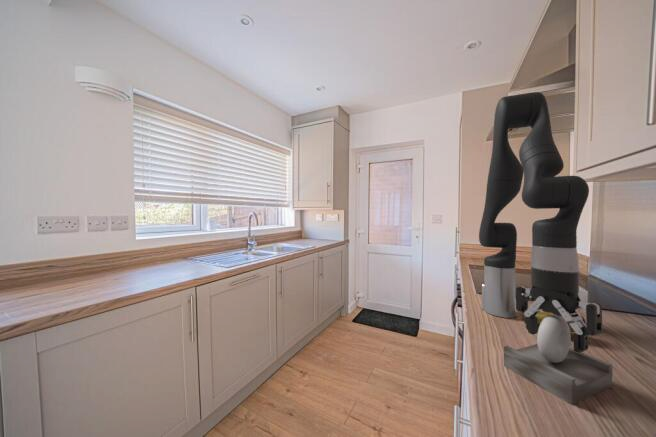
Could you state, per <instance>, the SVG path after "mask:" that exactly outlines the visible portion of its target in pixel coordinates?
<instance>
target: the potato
mask: <svg viewBox="0 0 656 437" xmlns="http://www.w3.org/2000/svg"><path fill="white" fill-rule="evenodd" d="M549 315H555V314H553V313H550V312H544V311H543V312H541V311H540V312H539V313H538V314H537V315H536V317H538V329H539V326H540V324H541V322H542V320H543V319H544V318H545V317H547V316H549ZM570 315H571V314H570ZM556 316H557V315H556ZM580 316H581V317H582V319H583V322H584V323H585V324H587V321H586V319H585V318H584V316H582V315H581V314H580ZM559 317H561V318H563V316H559ZM563 319H564V318H563ZM564 320H565V319H564ZM523 323H524V324H525V325H526V316H525V315H524V318H523ZM567 324H568V326H569V328H570V333H576V332H575V331H574V330H573V328H572V327H571V325H570V324H569V323H567Z"/></svg>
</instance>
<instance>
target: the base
mask: <svg viewBox="0 0 656 437" xmlns="http://www.w3.org/2000/svg"><path fill="white" fill-rule="evenodd" d="M503 366H504V367H505V368H507V369H509V370H510V371H511V372H513V373H515V374H517V375H519V376H521V377H522V378H524V379H526V380H527V381H530V382H531V383H533V384H535V385H536V386H539V387H540V388H542V389H544V390H546V391H547V392H549V393H551V394H553V396H556V397H558V398H559V399H560V400H561V399H562V400H563V401H565V402H567V403H569V404H570V405H574V404H577V403H578V402H580V401H583V400H585V399H587V398H590V397H592V396H595V395H597V394H599V393H602V392H603V391H605V390H607V389H610V388H612V387H613V364H612V363H609V362H607V361H604V360H602V359H600V358H596V357H594V356H592V355H589V354H587V353H584V352H581V353H579V352H576V351H574V348H571V347H570V348H569V352H568V354H567V356H566V358H565V359H564V360H563V361H562V362H559V363H552V362H550V361H548V360H546V359H545V358H544V357H543V356H542V355H541V353H540V352H539V349H538V344H537V343H536V344H532V345H529V346H524V347H522V348H517V349H515V348H513V347H511V346H509V345H504V346H503Z"/></svg>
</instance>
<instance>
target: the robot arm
mask: <svg viewBox="0 0 656 437" xmlns="http://www.w3.org/2000/svg"><path fill="white" fill-rule="evenodd" d="M495 106H496V107H495V112H494V119H493V138H492V147H491V148H492V149H491V158H490V164H489V168H488V169H489V170H488V174H487V183H486V194H485V201H484V208H483V213H482V216H481V217H482V218H481V222H480V226H479V230H478V231H479V232H478V241H479V244H480V245H481V246H482V247H484V248H497V249H498V248H499V249H500V248H501V250H500V251H499V252H498V253H495V254H492V255H489V256H486V257H484V259H483V265H484V266H483V271H484V272H483V275H484V276H483V277H484V278H483V279H484V283H482V284H481V309H482V310H483V311H484V312H485V313H487V314H489V315H492V316H494V317H495V316H496V317H498V318H499V317H500V318H505V319H507V318H509V319H512V318H516V315H517V314H516V312H519V313H522V314H524V316H526V324H525V328H526V330H527V331H528V334H531V335H535V334H538V317H536V315H537V314H538V313H539V312H540V313H541V312H543V313H544V312H550V313H553V314H555V315H557V316H563V318H564V319H565V321H566V322H567V323H569V324H570V325H571V327H572V328H573V330H574V331H575V332H573V349H574V351H576V352H579V353H581V352H582V353H584V352H585V351H587V350H588V349H589V336H592V337H594V336H599V335H602V334H603V309H602V308H603V306H602V305H601V303H598V302H592V303H591V302H587V301H585V300H584V301H583V300H582V299H580V296H579V293H580V287H579V286H580V285H579V284H580V282H579V281H580V278H579V276H580V275H579V272H580V271H579V269H580V268H579V266H580V264H579V254H578V248H577V247H578V246H577V240H578V238H577V229H578V225H579V222H580V219H581V216H582V213H583V210H584V208H585V206H586V203H587V201H588V197H589V194H590V187H589V185H588V182H587V181H586V180H585V179H584V178H583V177H581V176H578V175H561V176H560V175H559V174H560V173H561V172H562V171H563V170H564V166H565V165H564V164H565V163H564V160H563V159H562V156H561V154H560V151H559V150H558V147H557V145H556V143H555V141H554V137H553V132H552V126H551V125H552V124H551V118H550V112H549V106H548V102H547V99H546V96H545V95H544V94H543V93H542V92H539V91H537V92H533V91H532V92H525V93H518V94H514V95H512V94H511V95H507V96H503V97H501V98H500V99H499V100H498V102H497V104H496V105H495ZM528 127H530V128H531V130H530V132H529V133H528V135H527V136H526V137H525V138H524V140H523V142H522V143H521V145H520V147H519V150H518V155H519V158H518V157H517V155H516V154H515V152H514V151H513V149H512V147H511V144H510V142H509V130H512V129H513V130H514V129H520V128H528ZM558 175H559V176H558ZM522 183H523V186H522ZM521 187H522V191H521ZM520 192H521V200H522V202H523V203H524V205H525V206H527V207H528V208H530V209H535V210H541V209H545V210H547V209H559V210H558V212H557V213H556V215H555V216H554V217H551V218H544V219H539V220H536V221H534V222H533V223H532V228H531V233H532V238H531V239H532V242H531V243H532V244H531V245H532V246H531V252H530V284H531V288H529V287H527V286H526V285H524V286H523V285H522V286H521V285H520V286H517V287H516V260H517V245H518V244H517V243H518V242H517V240H518V232H517V228H516V225H514V224H513V223H512V222H496V220H497V218H498V216H499V214H500V213H502V210H504V209H505V208H506V207H507V206H508V205H509V204H510V203H511V202H512V201H514V199H515V198H516V197H517V195H518V194H519V193H520ZM529 296H531V298H532V299H533V300H534V301H533V303H531V304H530V305H529ZM579 308H581V309H582V311H583V312H584V313H585V315H586V317H585V318H586V319H585V321H586V323H584V322H583V319H582V317H583V316H582V315H581V314H580V313H579V311H578V310H577V309H579ZM570 314H571V315H570ZM580 315H581V316H582V317H581V316H580Z"/></svg>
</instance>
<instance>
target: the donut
mask: <svg viewBox="0 0 656 437" xmlns="http://www.w3.org/2000/svg"><path fill="white" fill-rule="evenodd" d="M536 339H537V340H536V341H537V343H536V344H538V349H539V352H540V353H541V355H542V356H543V357H544V358H545V359H546V360H548V361H550V362H552V363H559V362H562V361H563V360H564V359H565V358H566V356H567V354H568V352H569V348H571V340H572V339H571V332H570V328H569V326H568V324H567V322H566V321H565V320H564V319H563V318H561V317H559V316H556V315H549V316H547V317H545V318H544V319H543V320H542V322H541V324H540V326H539V329H538V332H537V336H536Z"/></svg>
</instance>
